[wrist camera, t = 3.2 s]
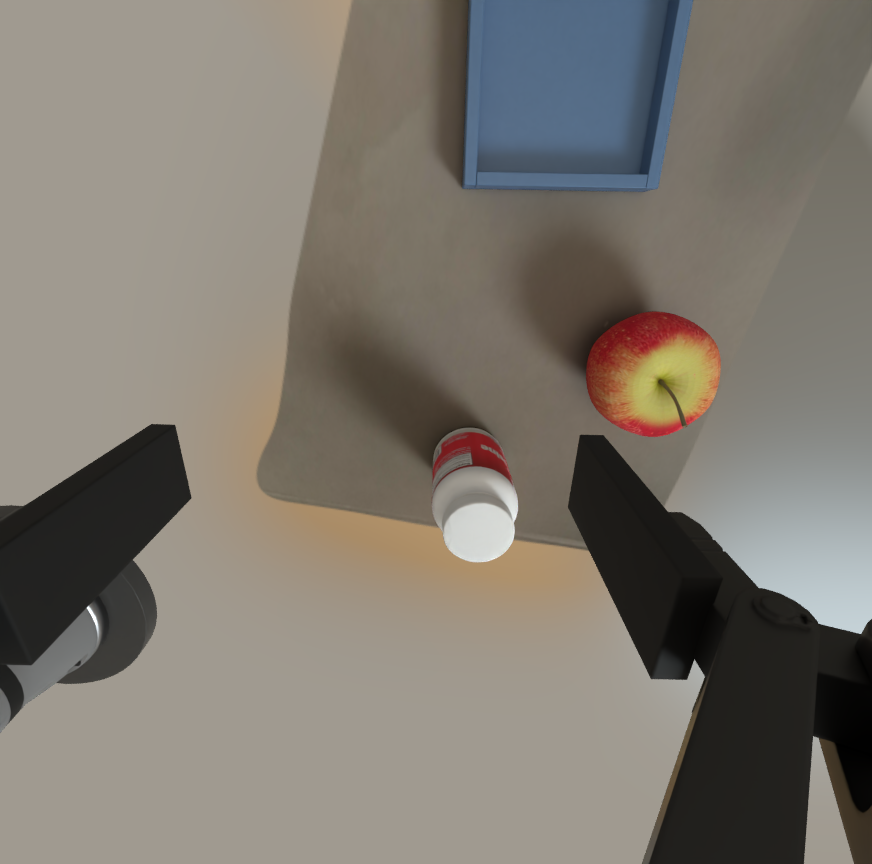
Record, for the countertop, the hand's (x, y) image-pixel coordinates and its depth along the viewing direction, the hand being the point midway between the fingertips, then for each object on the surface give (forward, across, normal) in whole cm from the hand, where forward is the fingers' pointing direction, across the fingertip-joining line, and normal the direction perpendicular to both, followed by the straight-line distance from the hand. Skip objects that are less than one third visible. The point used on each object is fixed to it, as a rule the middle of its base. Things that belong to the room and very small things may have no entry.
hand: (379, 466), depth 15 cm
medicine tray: (+22, +10, +17) cm, 29 cm away
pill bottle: (+22, +5, -10) cm, 25 cm away
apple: (+22, +17, -1) cm, 28 cm away
